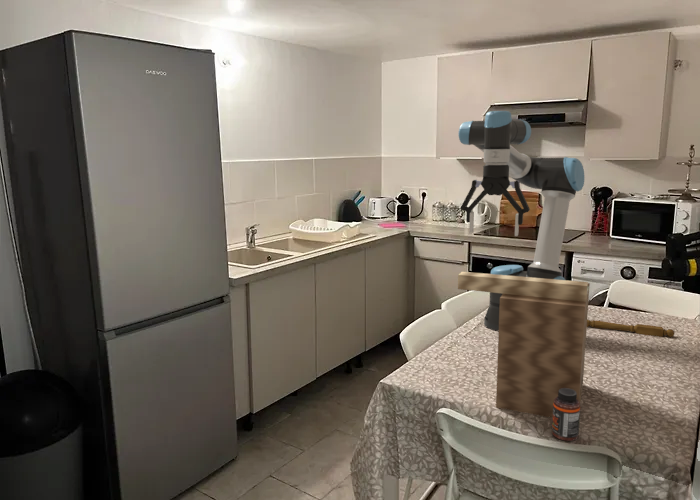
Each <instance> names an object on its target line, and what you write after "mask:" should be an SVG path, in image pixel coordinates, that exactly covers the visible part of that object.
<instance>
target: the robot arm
mask: <svg viewBox="0 0 700 500" xmlns="http://www.w3.org/2000/svg"><path fill="white" fill-rule="evenodd" d="M531 135H532V128H531V124H530V123H529V122H528V121H526V120H524V119H521V118H518V119H517V118H516V119H515V118H512V113H511V111H509V110H492V111H487V112H486V113H485V117H484V120H470V121H464V122H462V123H461V124H460V125H459V129H458V140H459V142H460V143H461V144H463V145H465V146H472V145H473V146H474V147H476V148H477V149H479V150H480V151H481V152H482V153H483V163H484V165H483V166H482V167H483V171H482V180H477V179H473V180H472V181H471V187H470V189H469V191H468V192H467V195H466V196H465V198H464V201H463V203H462V204H461V206H460V210H462V211H465V212H466V217H465V218H466V219H465V220H466V223H469V225H468V226H469V227H468V229H469V232H468V233H469V234H473V233H474V228H475V226H474V224H475V211H472V210H474V209H475V207H476V206H477V205H478V204H479V203H480V202H481V201H482V200H483V199H484V198H485V196H487V195H488V196H502V195H503V196H504V197H505V199H507V201H508V202H509V203H510V205H511V206H512V207H513V208H514V209H515V211H516V212H517V213H516V214H515V216H514V217H515V220H514V221H515V222H514V237H518V236H519V230H520V228H519V227H520V225H521V226H522V225H523V223H524V221H523V220H524V215H525V213H528V212H530V210H531V209H530V206H529V204H528V202H527V200H526V198H525V195H524V194H523V192H522V189H521V186H520V184H521V185H524V186H526V187H528V188H531V189H536V190H537V189H538V190H541V192H540V194H541V195H542V196H543V197H544V201H543V206H542V210H541V216H540V223H539V229H538V234H537V240H536V245H535V251H534V257H533V260H532V261H533V262H531V264H529V265H528V266H527V270H524V267H523V266H522V265H519V264H506V265H505V264H504V265H499V266H495V267H492V269H491V270H490V274H496V275H508V276H520V277H532V278H544V279H556V280H566V279H565V277H564V276H562V274H563V273H562V272H563V271H562V270H561V268H559V264H560V259H561V252H562V248H563V242H564V237H565V236H564V235H565V232H566V231H565V230H566V224H567V219H568V212H569V207H570V202H571V200H573V199H574V198H576V193H577V192H579V191H581V190H583V188H584V185H585V178H586V177H585V170H584V166H583V164H582V162H581V161H580V159H578V158H576V157H567V156H564V157H542V156H541V157H540V156H539V157H535V156H534V157H533V156H529V155H527V154H525V153H521V152H519V151H518V150H517V149H516V148H515V147H514V146H512V145H521V144H525V143H526V142H527V141H529V139H530V138H531ZM509 177H510V178H511V179H512V180H513V181H510V179H509ZM479 186H481V187H482V188H483V190H482V192H480V194H479V195H478V196H477V197H476V198H475V200H474V201H473V202H472V203H471V204H470V201H471V199H472V197H473V195H474V194H475V192H476V190H477V188H479ZM510 186H511V188H512V189H514V190H515V192H516V195H517V197H518V200H519V201H520V204H521V205H522V206H521V205H519V203H518V202H517V200H515V198H514V197H513V196H512V195H511V193H510V191H508V189H509V187H510ZM469 204H470V205H469ZM468 205H469V206H468ZM501 296H502V293H492V292H489V306H488V308H487V311H486V313H485V315H484V319H483V325H484V326H485V328H488V329H490V330H492V331H497V332H499V307H500V297H501Z"/></svg>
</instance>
